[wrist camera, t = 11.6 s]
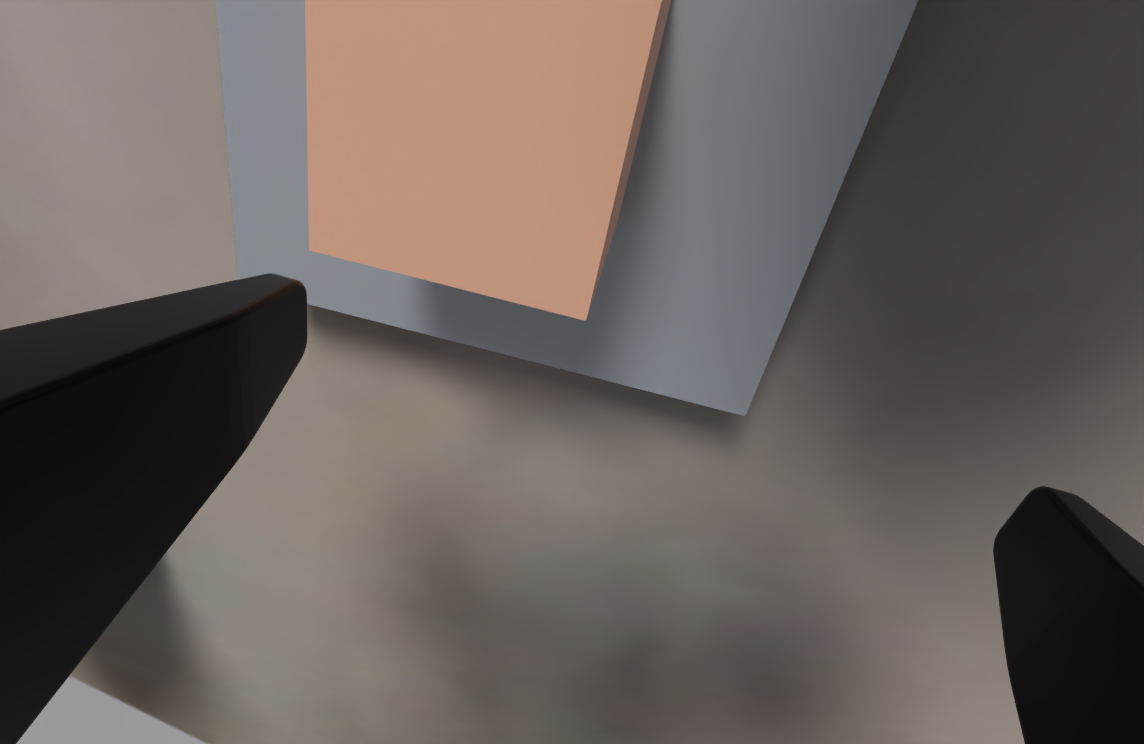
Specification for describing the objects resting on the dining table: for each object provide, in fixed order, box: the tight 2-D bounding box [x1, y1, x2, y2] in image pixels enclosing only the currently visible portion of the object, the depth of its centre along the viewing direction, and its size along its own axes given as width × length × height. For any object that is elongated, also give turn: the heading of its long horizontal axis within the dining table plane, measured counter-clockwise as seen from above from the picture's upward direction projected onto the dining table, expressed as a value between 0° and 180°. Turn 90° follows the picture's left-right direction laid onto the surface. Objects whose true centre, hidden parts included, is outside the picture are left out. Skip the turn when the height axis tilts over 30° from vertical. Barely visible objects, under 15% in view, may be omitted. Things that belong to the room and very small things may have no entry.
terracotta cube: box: [305, 0, 671, 321], centre depth 13 cm, size 5×5×5 cm
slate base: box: [215, 0, 918, 416], centre depth 16 cm, size 14×14×3 cm
